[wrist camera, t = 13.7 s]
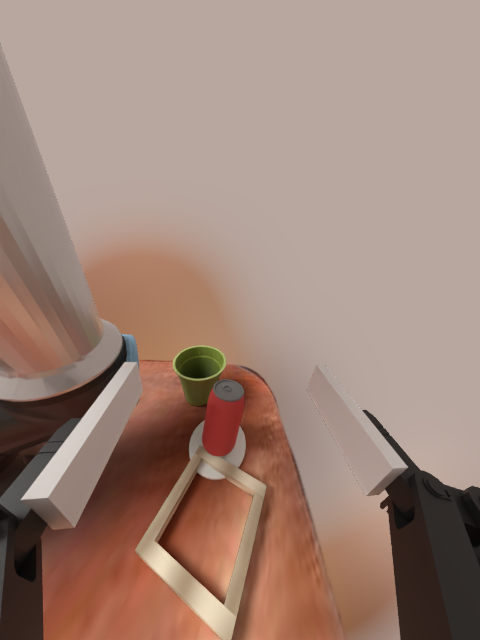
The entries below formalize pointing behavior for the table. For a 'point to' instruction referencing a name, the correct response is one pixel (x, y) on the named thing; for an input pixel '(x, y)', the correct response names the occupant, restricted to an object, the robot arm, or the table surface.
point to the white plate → (233, 457)
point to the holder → (180, 579)
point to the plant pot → (199, 372)
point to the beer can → (223, 417)
